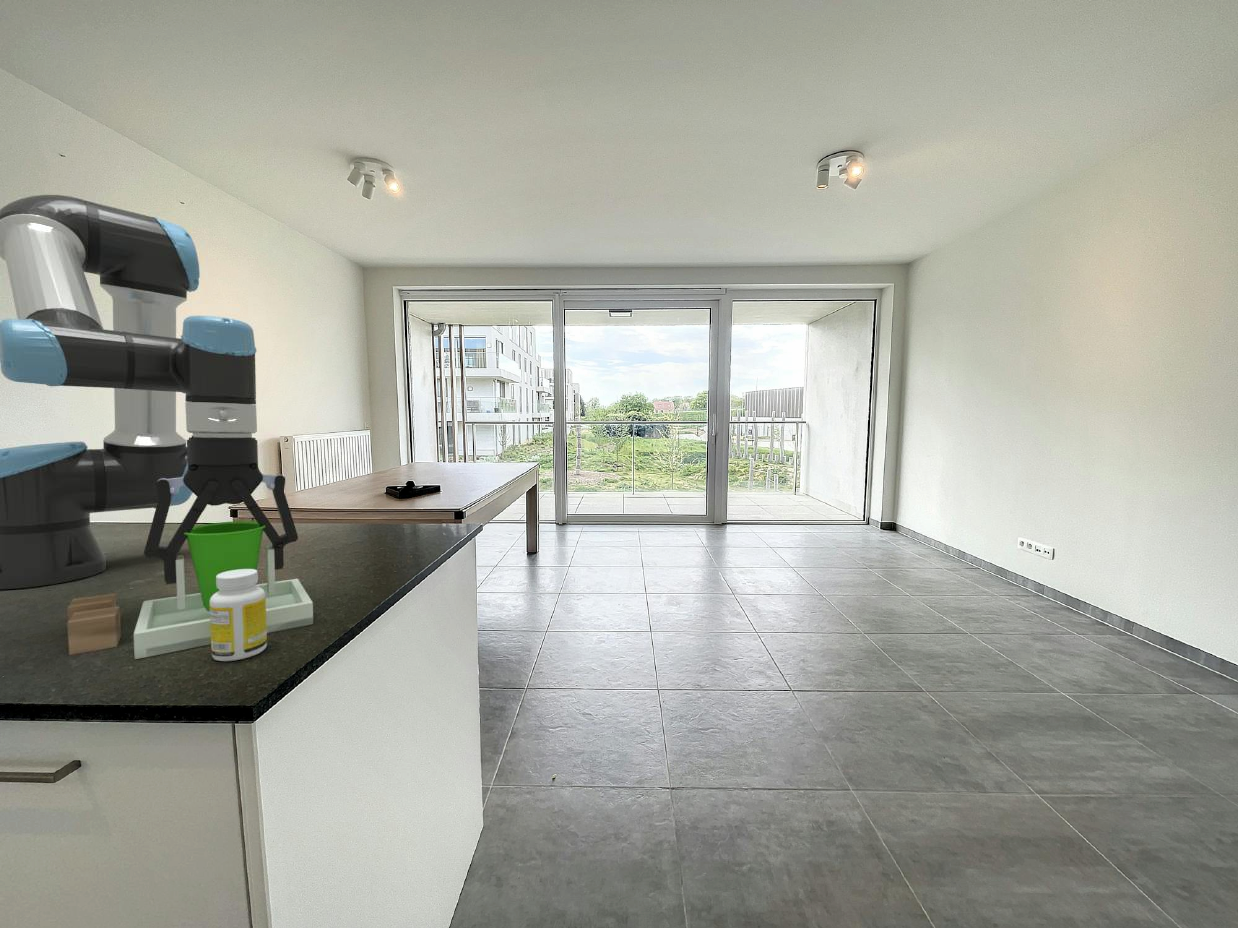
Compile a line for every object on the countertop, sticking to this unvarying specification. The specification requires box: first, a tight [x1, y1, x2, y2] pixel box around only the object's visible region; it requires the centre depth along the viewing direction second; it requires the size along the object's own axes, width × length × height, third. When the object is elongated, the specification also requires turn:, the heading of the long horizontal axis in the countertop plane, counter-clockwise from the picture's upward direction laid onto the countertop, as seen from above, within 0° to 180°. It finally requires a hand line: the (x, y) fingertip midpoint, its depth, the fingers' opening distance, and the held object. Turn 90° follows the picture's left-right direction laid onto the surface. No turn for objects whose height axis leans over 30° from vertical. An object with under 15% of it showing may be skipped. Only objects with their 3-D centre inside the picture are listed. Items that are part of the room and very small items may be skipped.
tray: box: [133, 578, 314, 660], centre depth 70 cm, size 14×18×3 cm
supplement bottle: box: [210, 569, 268, 662], centre depth 61 cm, size 5×5×10 cm
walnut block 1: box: [66, 592, 117, 622], centre depth 67 cm, size 4×4×4 cm
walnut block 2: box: [66, 605, 122, 656], centre depth 62 cm, size 4×4×4 cm
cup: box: [184, 520, 265, 612], centre depth 70 cm, size 9×9×11 cm
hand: (228, 598), depth 70 cm, fingers closed on cup, 9 cm apart
